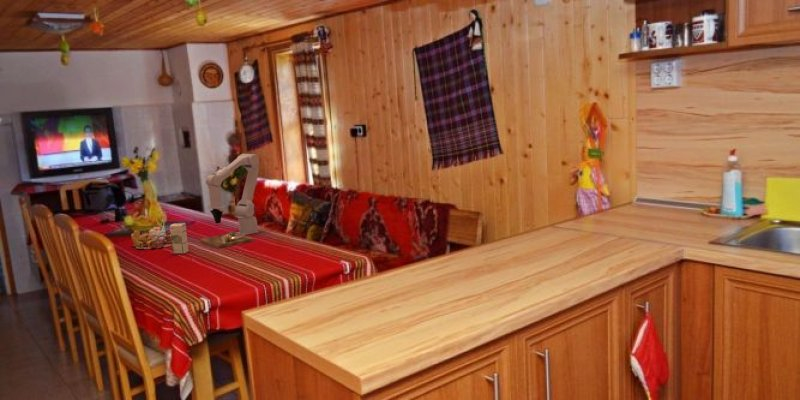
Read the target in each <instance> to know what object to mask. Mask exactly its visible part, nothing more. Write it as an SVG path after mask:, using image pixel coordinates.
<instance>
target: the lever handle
mask: <svg viewBox="0 0 800 400" xmlns="http://www.w3.org/2000/svg"><path fill="white" fill-rule="evenodd" d="M223 235H224V234H223ZM228 235H232V241H233V240H239V239H241V238H243V235H242V234H235V231H229V232H227V233H226V235H224V236H221V240H222V244H226V243H227V242H229V237H228Z"/></svg>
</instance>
